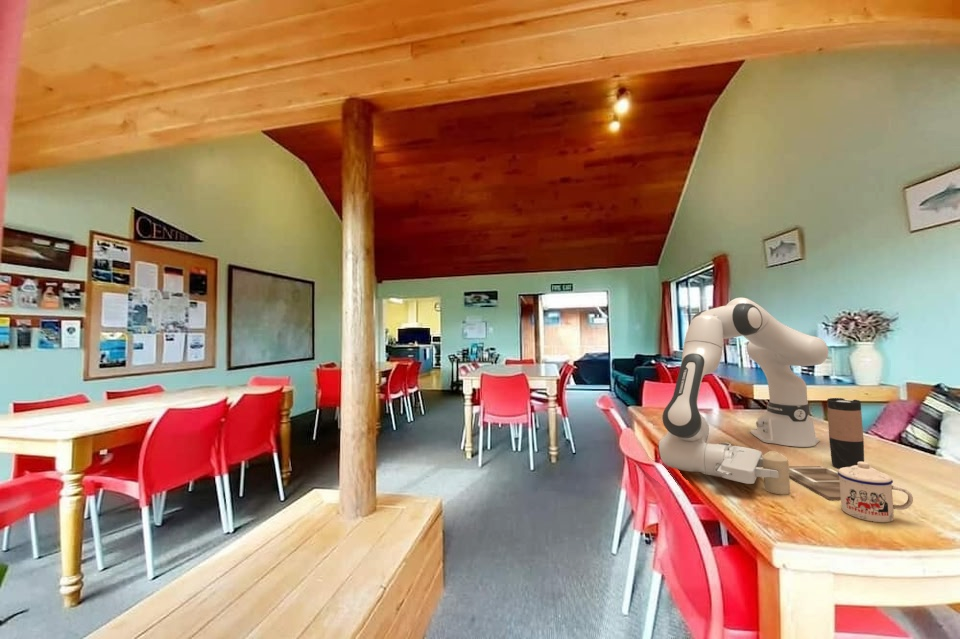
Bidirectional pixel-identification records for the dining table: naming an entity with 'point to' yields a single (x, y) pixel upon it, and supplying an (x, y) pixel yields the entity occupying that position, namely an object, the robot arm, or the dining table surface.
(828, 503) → the dining table surface
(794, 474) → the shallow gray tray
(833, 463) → the travel mug
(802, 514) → the dining table surface
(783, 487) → the candle
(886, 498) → the teacup with lid
